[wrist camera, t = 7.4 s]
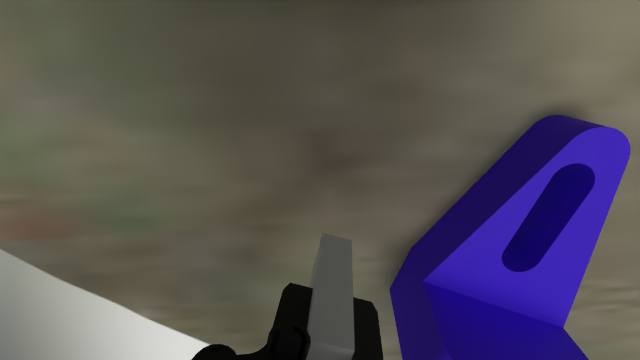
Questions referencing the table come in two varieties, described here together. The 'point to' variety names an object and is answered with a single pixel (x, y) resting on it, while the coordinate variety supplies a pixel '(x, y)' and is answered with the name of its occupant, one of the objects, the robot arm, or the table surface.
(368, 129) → the table surface
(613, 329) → the table surface
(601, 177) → the bracket
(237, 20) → the table surface
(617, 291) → the table surface
